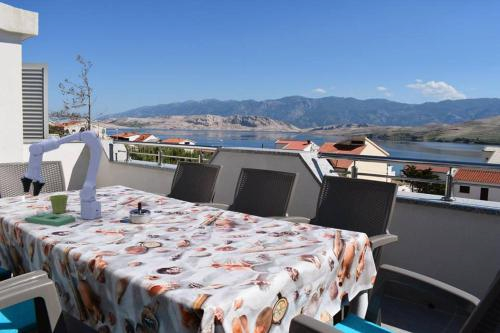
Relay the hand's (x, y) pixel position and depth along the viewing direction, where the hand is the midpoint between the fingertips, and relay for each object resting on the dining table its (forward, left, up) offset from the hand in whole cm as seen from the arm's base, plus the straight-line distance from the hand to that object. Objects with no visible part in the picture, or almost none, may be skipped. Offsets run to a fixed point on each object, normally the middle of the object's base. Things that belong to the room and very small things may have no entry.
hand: (31, 194), depth 195 cm
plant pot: (-2, -15, -12) cm, 20 cm away
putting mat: (-13, +1, -12) cm, 18 cm away
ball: (-7, +1, -8) cm, 11 cm away
